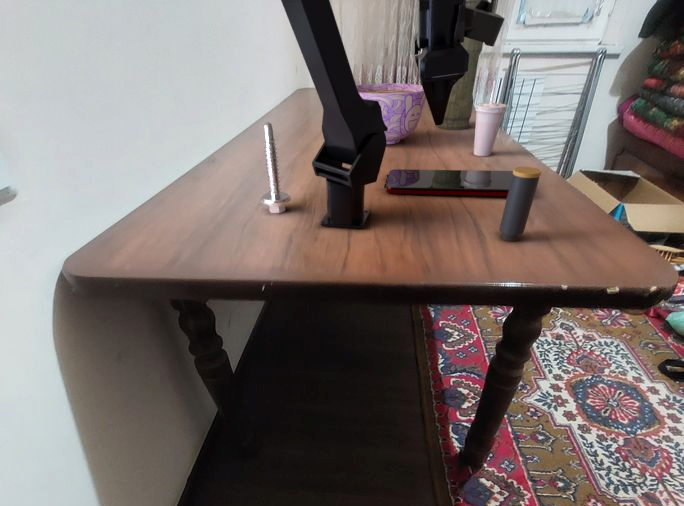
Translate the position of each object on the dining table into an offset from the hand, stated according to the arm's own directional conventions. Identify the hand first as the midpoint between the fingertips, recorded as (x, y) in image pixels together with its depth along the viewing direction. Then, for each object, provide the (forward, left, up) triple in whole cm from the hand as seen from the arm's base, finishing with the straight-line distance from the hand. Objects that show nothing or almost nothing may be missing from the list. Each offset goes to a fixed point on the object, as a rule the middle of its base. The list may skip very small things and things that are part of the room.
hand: (436, 115), depth 65 cm
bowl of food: (+39, +13, -12) cm, 43 cm away
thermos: (+60, -4, -12) cm, 62 cm away
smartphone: (+4, -5, -12) cm, 14 cm away
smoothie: (+29, -11, -12) cm, 34 cm away
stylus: (-18, -13, -12) cm, 25 cm away
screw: (-14, +23, -12) cm, 30 cm away
